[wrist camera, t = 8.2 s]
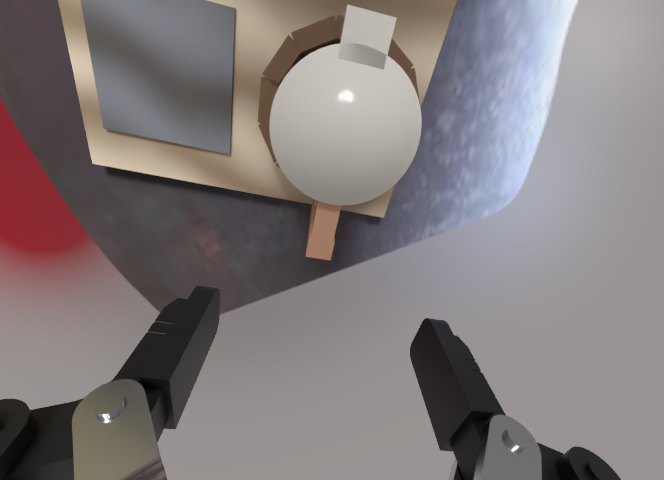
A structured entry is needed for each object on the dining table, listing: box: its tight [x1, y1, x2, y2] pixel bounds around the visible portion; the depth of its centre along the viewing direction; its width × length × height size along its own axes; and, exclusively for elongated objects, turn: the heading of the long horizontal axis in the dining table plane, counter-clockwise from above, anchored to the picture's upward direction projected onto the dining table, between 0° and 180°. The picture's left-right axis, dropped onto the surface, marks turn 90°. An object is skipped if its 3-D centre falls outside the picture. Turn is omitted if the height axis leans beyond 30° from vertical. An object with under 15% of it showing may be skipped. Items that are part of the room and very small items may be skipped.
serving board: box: [58, 0, 457, 218], centre depth 18 cm, size 17×24×5 cm
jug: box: [269, 4, 422, 260], centre depth 17 cm, size 11×6×10 cm, turn 168°
